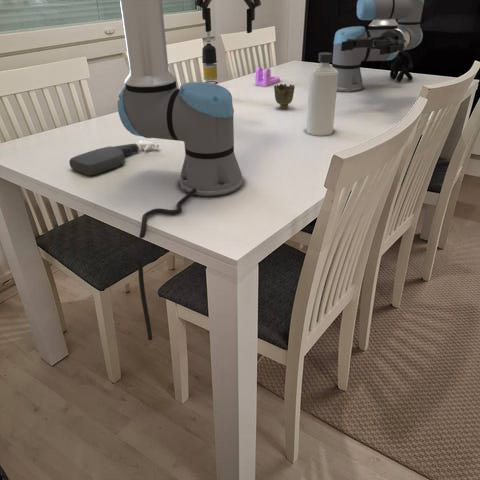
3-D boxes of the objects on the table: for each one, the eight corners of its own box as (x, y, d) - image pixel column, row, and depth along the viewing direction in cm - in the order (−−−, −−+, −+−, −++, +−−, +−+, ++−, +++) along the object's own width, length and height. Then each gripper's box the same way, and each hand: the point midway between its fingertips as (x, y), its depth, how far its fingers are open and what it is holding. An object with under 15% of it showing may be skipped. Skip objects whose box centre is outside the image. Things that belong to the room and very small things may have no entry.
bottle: (311, 136, 138) (317, 58, 126) (302, 128, 145) (306, 53, 133) (337, 134, 140) (344, 56, 128) (326, 126, 147) (333, 51, 135)
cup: (270, 109, 164) (270, 87, 160) (278, 104, 169) (278, 82, 165) (289, 111, 161) (290, 89, 157) (296, 106, 166) (297, 84, 162)
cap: (321, 63, 130) (321, 54, 128) (316, 61, 133) (316, 52, 132) (333, 62, 130) (334, 54, 129) (328, 60, 134) (329, 51, 132)
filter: (220, 99, 177) (217, 15, 161) (206, 100, 176) (202, 16, 160) (215, 96, 182) (212, 14, 166) (202, 97, 180) (197, 14, 164)
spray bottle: (67, 168, 120) (139, 144, 136) (91, 178, 114) (163, 151, 130) (65, 157, 118) (137, 134, 134) (89, 167, 112) (162, 142, 128)
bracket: (265, 86, 195) (266, 69, 191) (255, 84, 197) (255, 68, 194) (281, 80, 203) (282, 64, 200) (271, 79, 206) (271, 63, 203)
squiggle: (400, 92, 202) (376, 71, 205) (417, 76, 202) (392, 56, 205) (405, 81, 191) (380, 59, 194) (423, 64, 191) (397, 42, 194)
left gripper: (272, -51, 127) (270, 31, 138) (192, -49, 134) (197, 29, 145) (264, -51, 121) (263, 34, 132) (181, -49, 128) (187, 32, 139)
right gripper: (427, 56, 146) (396, 64, 133) (359, 50, 161) (326, 57, 148) (431, 31, 143) (400, 37, 130) (362, 27, 158) (328, 32, 144)
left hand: (228, 32), depth 139 cm, fingers open, 13 cm apart
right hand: (361, 48), depth 139 cm, fingers open, 13 cm apart
